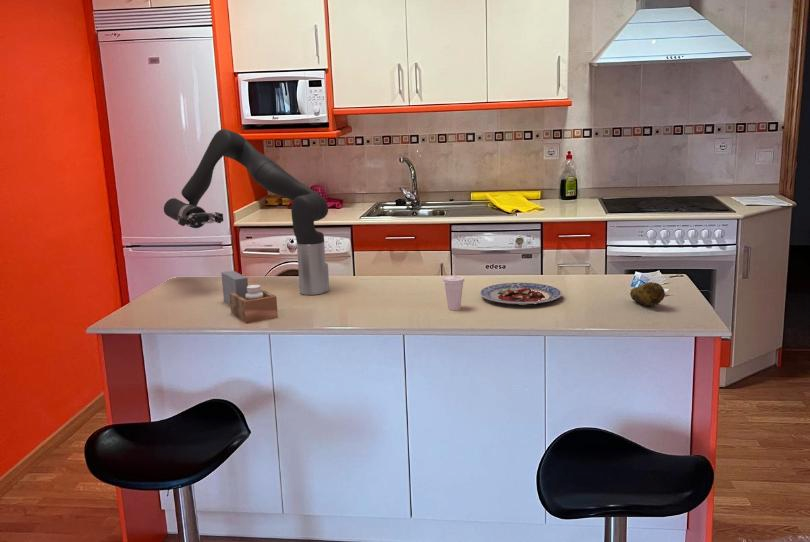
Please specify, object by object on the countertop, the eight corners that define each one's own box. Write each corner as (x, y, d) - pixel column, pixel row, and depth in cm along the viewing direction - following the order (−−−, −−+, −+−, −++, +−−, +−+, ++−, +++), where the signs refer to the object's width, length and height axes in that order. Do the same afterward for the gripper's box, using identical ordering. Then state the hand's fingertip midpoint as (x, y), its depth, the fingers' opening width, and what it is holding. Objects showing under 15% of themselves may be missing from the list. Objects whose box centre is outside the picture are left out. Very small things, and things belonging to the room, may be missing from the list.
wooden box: (231, 313, 231) (229, 293, 230) (261, 307, 236) (259, 288, 235) (246, 323, 220) (244, 301, 219) (277, 317, 226) (276, 296, 224)
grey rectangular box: (223, 302, 246) (221, 272, 243) (235, 300, 248) (233, 270, 245) (237, 310, 235) (235, 279, 233) (249, 308, 237) (247, 277, 235)
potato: (655, 300, 231) (656, 275, 229) (666, 312, 218) (668, 285, 216) (628, 300, 231) (629, 275, 230) (637, 312, 219) (638, 285, 217)
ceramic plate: (577, 303, 231) (578, 294, 230) (503, 313, 222) (503, 304, 222) (536, 285, 255) (536, 277, 254) (467, 294, 246) (466, 285, 246)
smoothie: (467, 306, 230) (466, 262, 227) (461, 312, 225) (461, 266, 221) (447, 305, 233) (446, 261, 229) (441, 311, 227) (440, 265, 224)
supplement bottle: (261, 313, 230) (258, 283, 228) (267, 317, 226) (265, 286, 224) (244, 316, 228) (241, 286, 225) (250, 320, 223) (248, 289, 221)
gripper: (170, 207, 254) (184, 212, 240) (211, 203, 261) (227, 207, 248) (172, 229, 255) (186, 235, 242) (213, 224, 263) (229, 230, 249)
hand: (207, 221), depth 245 cm, fingers open, 8 cm apart
